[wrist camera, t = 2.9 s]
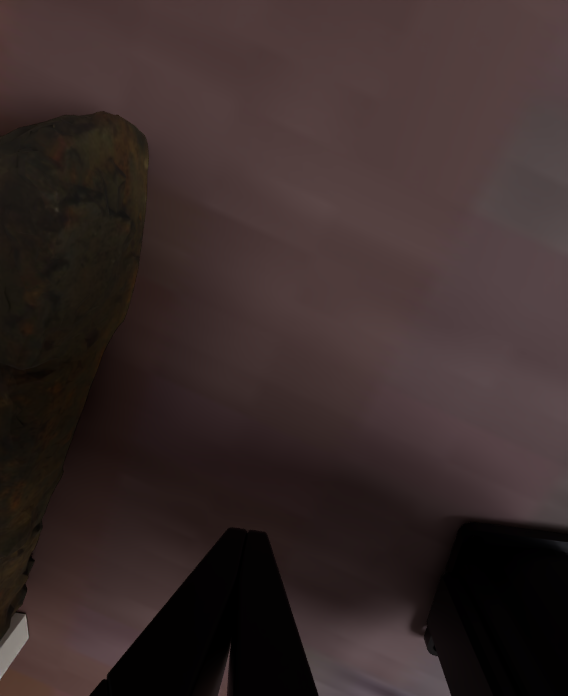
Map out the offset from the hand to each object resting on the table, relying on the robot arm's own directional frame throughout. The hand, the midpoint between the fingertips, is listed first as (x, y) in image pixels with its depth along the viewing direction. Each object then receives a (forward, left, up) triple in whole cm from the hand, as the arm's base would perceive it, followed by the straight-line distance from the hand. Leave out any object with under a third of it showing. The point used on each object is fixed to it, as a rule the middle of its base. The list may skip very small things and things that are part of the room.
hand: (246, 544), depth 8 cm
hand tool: (+8, 0, -6) cm, 10 cm away
